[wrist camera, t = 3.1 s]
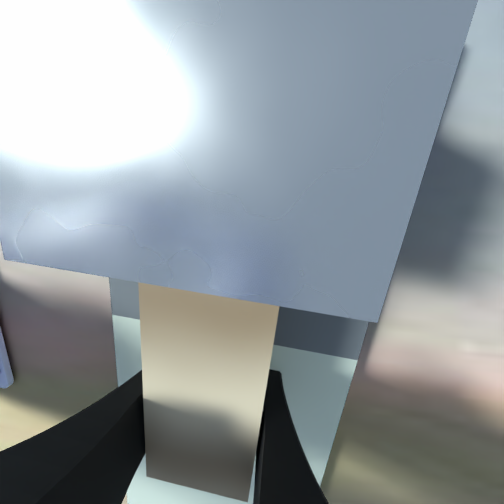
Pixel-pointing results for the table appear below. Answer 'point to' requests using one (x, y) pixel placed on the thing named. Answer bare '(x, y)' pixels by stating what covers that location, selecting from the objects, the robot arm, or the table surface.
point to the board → (283, 359)
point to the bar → (203, 386)
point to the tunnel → (223, 141)
